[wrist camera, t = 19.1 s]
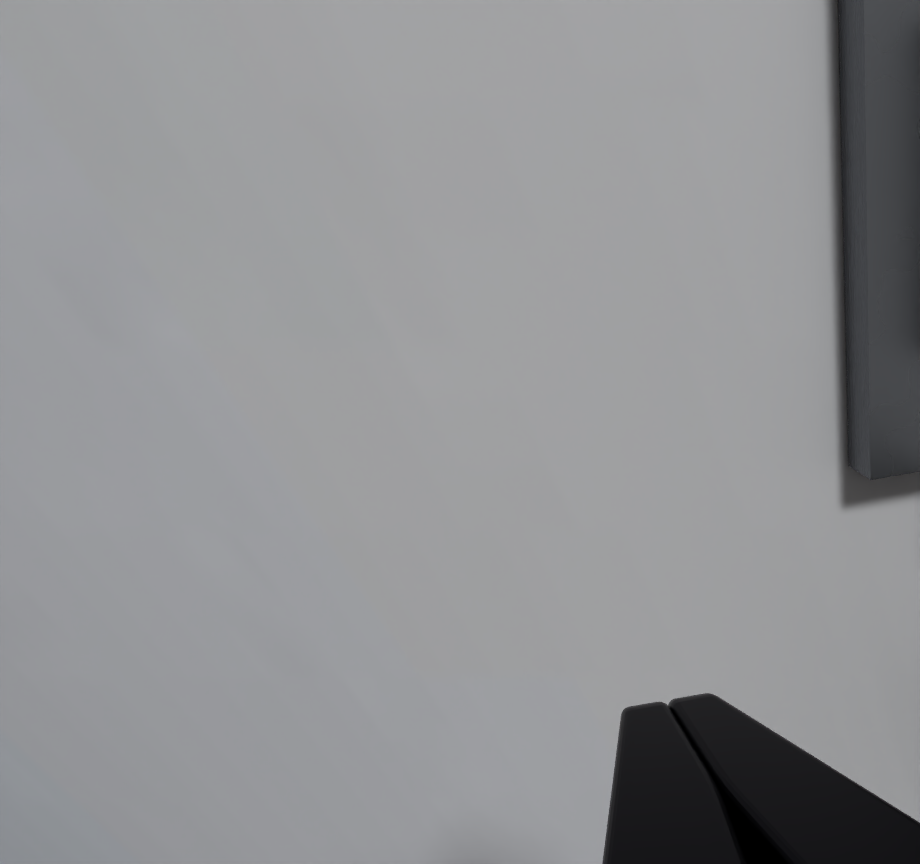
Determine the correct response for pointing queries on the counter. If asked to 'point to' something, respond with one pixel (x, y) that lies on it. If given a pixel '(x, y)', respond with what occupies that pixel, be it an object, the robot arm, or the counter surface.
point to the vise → (881, 231)
